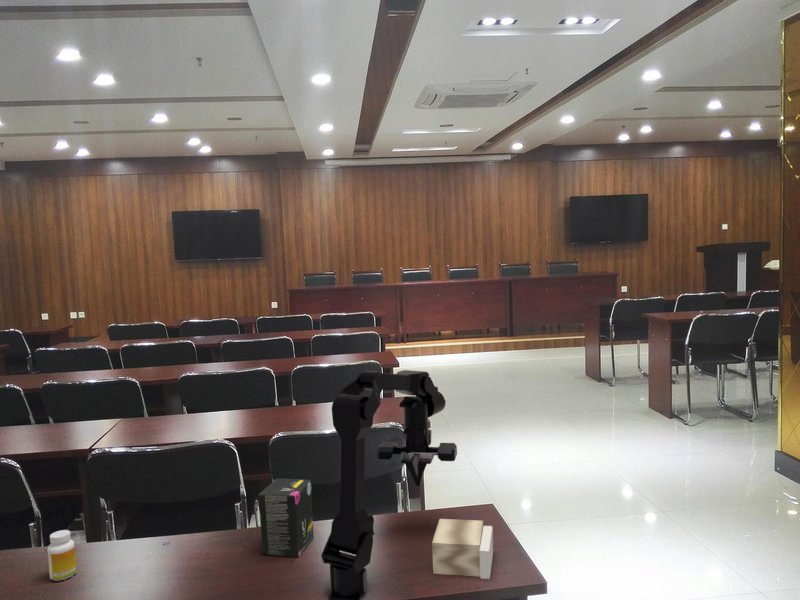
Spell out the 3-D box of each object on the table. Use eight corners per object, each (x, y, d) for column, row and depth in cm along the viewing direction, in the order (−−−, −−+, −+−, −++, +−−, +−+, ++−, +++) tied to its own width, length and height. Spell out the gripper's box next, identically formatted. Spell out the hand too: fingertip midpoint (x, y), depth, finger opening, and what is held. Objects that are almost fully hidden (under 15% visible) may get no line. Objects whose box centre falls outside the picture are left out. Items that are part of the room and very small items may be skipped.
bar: (480, 578, 129) (479, 550, 129) (484, 551, 141) (483, 525, 141) (489, 579, 129) (489, 551, 128) (493, 551, 141) (492, 526, 140)
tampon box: (299, 558, 141) (295, 495, 140) (261, 555, 143) (257, 494, 142) (315, 536, 152) (312, 478, 151) (279, 534, 154) (276, 477, 153)
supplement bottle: (82, 573, 138) (78, 531, 137) (58, 584, 134) (55, 541, 133) (68, 568, 141) (64, 526, 140) (44, 579, 136) (40, 536, 136)
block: (433, 574, 132) (432, 542, 132) (440, 548, 144) (439, 518, 143) (480, 577, 130) (479, 545, 130) (484, 550, 142) (483, 520, 141)
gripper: (458, 414, 155) (460, 475, 156) (385, 413, 159) (388, 472, 160) (453, 426, 144) (455, 492, 145) (375, 425, 148) (378, 489, 149)
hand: (418, 485), depth 150 cm, fingers closed
